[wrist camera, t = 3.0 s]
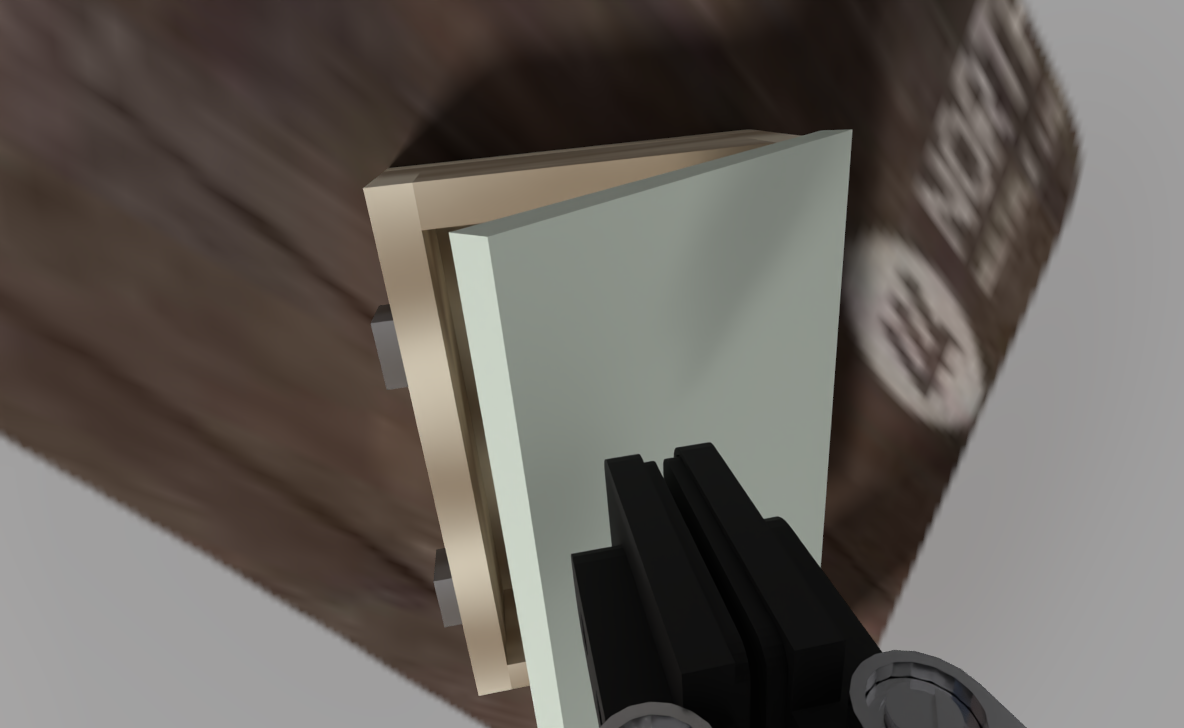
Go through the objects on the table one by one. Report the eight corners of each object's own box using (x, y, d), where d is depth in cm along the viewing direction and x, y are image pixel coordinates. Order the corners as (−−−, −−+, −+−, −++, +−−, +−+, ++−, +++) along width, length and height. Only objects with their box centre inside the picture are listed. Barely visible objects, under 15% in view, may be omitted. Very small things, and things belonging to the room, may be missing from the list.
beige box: (368, 169, 20) (338, 190, 16) (749, 129, 21) (818, 137, 17) (464, 602, 27) (462, 699, 23) (744, 550, 29) (792, 632, 24)
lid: (448, 232, 9) (487, 236, 8) (821, 130, 17) (852, 129, 16) (579, 960, 16) (604, 986, 15) (794, 639, 24) (814, 650, 24)
